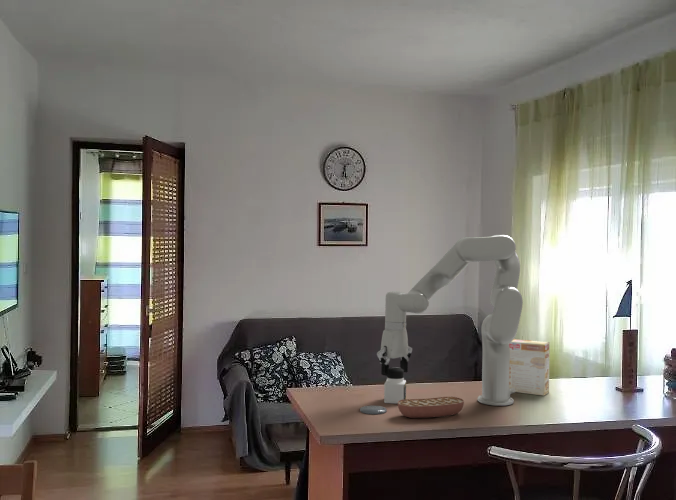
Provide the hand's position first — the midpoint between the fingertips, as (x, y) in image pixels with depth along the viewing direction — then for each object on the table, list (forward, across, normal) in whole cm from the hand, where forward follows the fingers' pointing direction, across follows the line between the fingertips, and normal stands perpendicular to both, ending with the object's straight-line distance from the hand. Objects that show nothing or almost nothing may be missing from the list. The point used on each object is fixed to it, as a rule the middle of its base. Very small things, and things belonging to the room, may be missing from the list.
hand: (394, 373), depth 235 cm
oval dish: (+10, +4, +21) cm, 24 cm away
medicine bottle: (+10, 0, 0) cm, 10 cm away
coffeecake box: (+10, -49, +23) cm, 55 cm away
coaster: (+10, +15, +4) cm, 18 cm away
